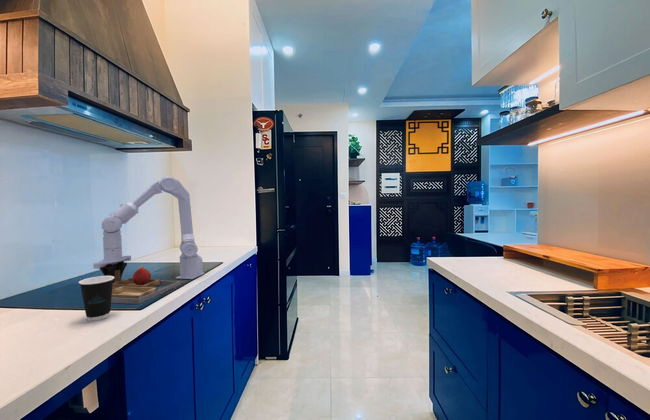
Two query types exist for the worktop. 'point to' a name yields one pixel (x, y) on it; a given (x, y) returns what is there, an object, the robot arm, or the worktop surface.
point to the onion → (141, 276)
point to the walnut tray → (130, 282)
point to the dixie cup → (97, 296)
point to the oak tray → (132, 292)
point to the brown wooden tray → (139, 300)
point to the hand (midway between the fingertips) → (114, 282)
